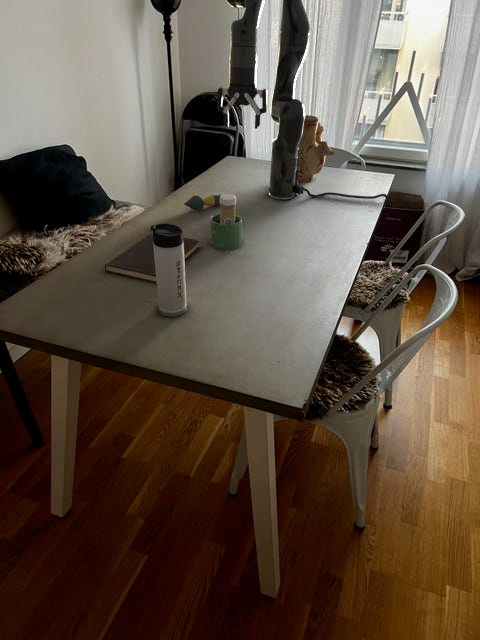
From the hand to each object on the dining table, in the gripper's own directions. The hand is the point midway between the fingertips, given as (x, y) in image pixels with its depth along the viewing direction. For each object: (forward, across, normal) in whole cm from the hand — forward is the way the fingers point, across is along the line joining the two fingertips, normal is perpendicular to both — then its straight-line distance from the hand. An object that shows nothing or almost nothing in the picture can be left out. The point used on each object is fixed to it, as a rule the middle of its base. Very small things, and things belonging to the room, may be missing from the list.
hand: (241, 127), depth 137 cm
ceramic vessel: (+28, -23, -48) cm, 60 cm away
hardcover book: (+28, +20, +33) cm, 48 cm away
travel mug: (+28, +10, +57) cm, 65 cm away
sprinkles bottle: (+28, +2, +20) cm, 34 cm away
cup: (+28, +2, +20) cm, 34 cm away
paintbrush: (+28, +12, -9) cm, 32 cm away
